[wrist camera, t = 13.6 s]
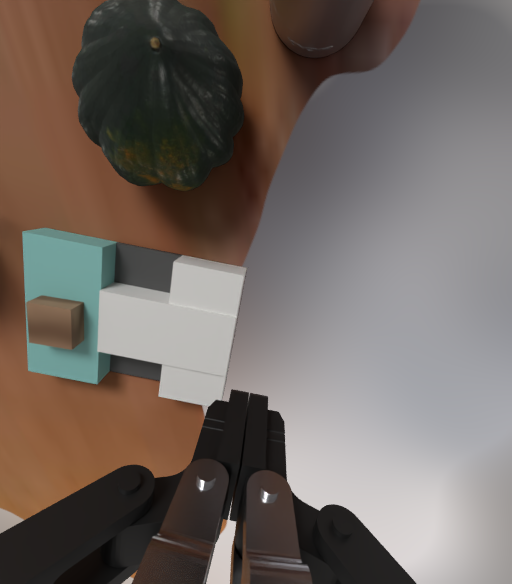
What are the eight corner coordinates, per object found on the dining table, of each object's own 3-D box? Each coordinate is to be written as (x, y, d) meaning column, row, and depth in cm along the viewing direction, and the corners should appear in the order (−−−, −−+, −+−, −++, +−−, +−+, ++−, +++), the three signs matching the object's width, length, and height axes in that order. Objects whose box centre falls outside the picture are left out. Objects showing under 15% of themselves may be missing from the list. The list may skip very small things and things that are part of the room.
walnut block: (42, 295, 37) (26, 302, 35) (83, 302, 37) (70, 309, 35) (44, 333, 39) (29, 342, 37) (84, 340, 39) (71, 349, 37)
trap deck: (45, 227, 39) (20, 231, 35) (247, 267, 39) (244, 276, 35) (47, 356, 44) (26, 372, 40) (224, 391, 44) (219, 410, 41)
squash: (62, 176, 31) (104, 181, 20) (54, -7, 27) (101, -124, 16) (192, 192, 40) (269, 201, 29) (200, 56, 36) (294, 7, 25)
